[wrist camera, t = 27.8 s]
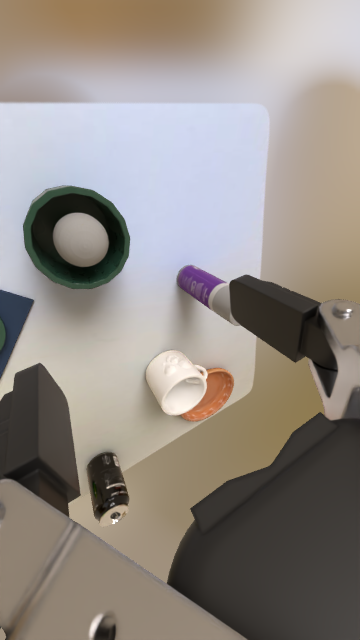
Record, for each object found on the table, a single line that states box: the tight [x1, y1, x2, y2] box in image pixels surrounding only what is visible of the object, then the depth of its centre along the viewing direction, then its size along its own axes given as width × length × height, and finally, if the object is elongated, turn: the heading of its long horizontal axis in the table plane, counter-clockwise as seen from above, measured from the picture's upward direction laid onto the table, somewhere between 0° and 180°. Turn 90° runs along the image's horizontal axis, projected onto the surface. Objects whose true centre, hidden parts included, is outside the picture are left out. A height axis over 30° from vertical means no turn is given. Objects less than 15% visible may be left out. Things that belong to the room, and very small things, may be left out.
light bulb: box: [53, 213, 109, 267], centre depth 27 cm, size 5×5×10 cm
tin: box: [23, 186, 130, 289], centre depth 28 cm, size 10×10×8 cm
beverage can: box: [87, 452, 129, 527], centre depth 50 cm, size 7×7×12 cm
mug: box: [146, 350, 208, 415], centre depth 47 cm, size 12×10×9 cm
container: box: [177, 265, 240, 326], centre depth 37 cm, size 5×5×15 cm
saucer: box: [180, 368, 234, 421], centre depth 59 cm, size 16×16×3 cm
